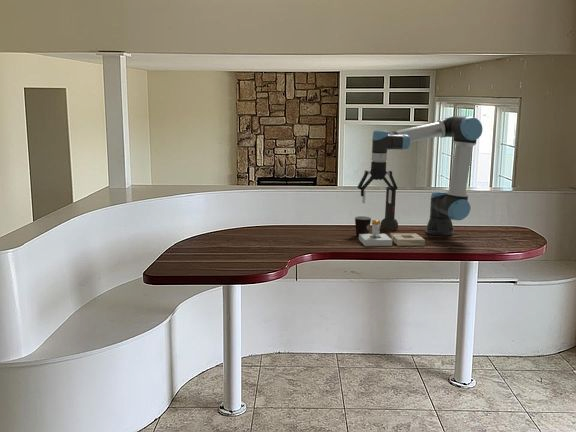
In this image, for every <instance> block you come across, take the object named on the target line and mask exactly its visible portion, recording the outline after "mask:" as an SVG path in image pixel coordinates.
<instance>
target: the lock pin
mask: <svg viewBox="0 0 576 432" xmlns="http://www.w3.org/2000/svg"><path fill="white" fill-rule="evenodd" d="M371 221H372V222H371V234H372V237H371V238H379V234H381V232H380V231H381V230H380V229H381V227H380V224H381V220H379V219H371Z"/></svg>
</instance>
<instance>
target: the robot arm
mask: <svg viewBox="0 0 576 432" xmlns="http://www.w3.org/2000/svg"><path fill="white" fill-rule="evenodd" d="M482 134H483V125H482V122H481V121H480V120H479V119H478V118H476V117H473V116H465V115H455V116H454V115H453V116H450V117H447V118H446V117H445V118H442V119H438V120H437V121H436V122H432V123H427V124H422V125H418V126H411V127H408V128H404V129H403V128H402V129H398V130H392V131H389V130H383V129H381V130H380V129H379V130H378V129H376V130H374V131H373V132H372V140H371V143H372V146H371V149H372V150H371V163H370V170H364V172H363V176H362V177H361V179H360V181H359V183H358V185H357V189H359V190H360V197H362V199H361V201H362V202H361V203H363V204H365V203H366V188H367V187H368V186H369V185H370V184H371V183H372V182H373V181H374V180H376V181H378V180H379V181H382V180H383V181H384V183H385V184H386V185H387V187H389V188H390V189H391V190H389V198H388V203H391V197H393V194H394V190H395V189H396V190H398V185H397V183H396V180H395V179H394V176H393V171H392V170H388V171H387V159H388V158H387V157H388V150H401V151H402V150H408V149H410V146H411V143H413V142H418V141H423V140H428V139H429V140H430V139H432V138H438V137H439V138H441V139H442V138H453V143H454V144H455V146H454V147H455V148H454V155H453V161H452V169H451V174H450V181H449V188H448V189H449V190H447V191H434V192H432V193H431V197H430V207H429V208H430V209H429V219H428V221H427V224H426V227H425V232H426V234H428V235H429V234H430V235H434V236H451V235H453V234H455V233H454V231H455V230H454V229H455V228H454V225H453V221H462V220H464V219H466V218H467V217H468V216H469V214H470V213H471V209H472V208H471V204H470V202H469V201H468V200H469V194H468V193H467V185H468V182H469V181H468V179H469V174H470V173H469V172H470V166H471V160H472V159H471V158H472V152H473V147H474V146H475V145H476V144H477V140H478V139H480V137H481V136H482ZM369 175H370V176H369ZM368 176H369V178H368ZM386 176H388V178H389V180H390V182H391V183H390V182H389V180H388V179H387V177H386ZM367 178H368V180H366V179H367ZM365 181H366V182H365ZM391 185H392V186H393V187H392V186H391ZM452 220H453V221H452Z"/></svg>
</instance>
